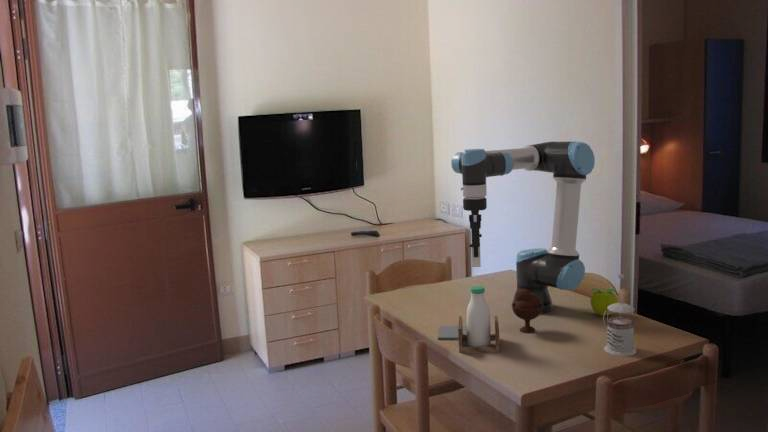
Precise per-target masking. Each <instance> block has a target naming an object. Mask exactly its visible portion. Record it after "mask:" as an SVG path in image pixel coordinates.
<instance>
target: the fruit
mask: <svg viewBox="0 0 768 432" xmlns="http://www.w3.org/2000/svg"><path fill="white" fill-rule="evenodd" d="M590 291H594V292H593V294H592V295H591V298H590V307H591V308H592V310H593V311H594V313H596V315H598V316H600V317H601V316H602V317H603V315H604V313H605V311H606V310H608V309H607V307H608V306H609V305H611V304H615V303H618V298H617V297H616V295H615V294H614V293H613V292H616V289H612V288H608V289H606V290H605V288H603V289H602V290H600V289H598V288H591V289H590ZM608 312H609V310H608V311H606V313H605V315H604V317H607V314H608ZM610 313H613V312H611V311H610ZM610 313H609V314H608V316H611V314H610ZM613 314H614V313H613Z"/></svg>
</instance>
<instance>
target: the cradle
mask: <svg viewBox="0 0 768 432" xmlns="http://www.w3.org/2000/svg"><path fill="white" fill-rule="evenodd" d="M457 326H458V336H459V340H458V353H486V354H487V353H489V352H490V353H493V352H494V353H495V352H500V327H499V317H498V315H494V333H490V337H491V340H494V343H495V346H489V347H469V346H463V343H464V342H463V341H464V340H463V337H467V334H463V329H462V326H463V315H458V324H457ZM495 354H496V353H495Z"/></svg>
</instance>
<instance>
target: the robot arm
mask: <svg viewBox="0 0 768 432" xmlns="http://www.w3.org/2000/svg"><path fill="white" fill-rule="evenodd" d="M595 160H596V159H595V154H594V151H593V150H592V148H591V146H590V145H589V144H588V143H586V142H583V141H547V142H546V141H544V142H541V143H535V144H527V145H524V146H523V147H521V148H510V149H508V148H507V149H496V150H495V149H493V150H485V149H483V148H468V149H464V150H462V152H456V153H455V154H454V155H452V157H451V163H450V164H451V168H452V170H453V171H454V172H455V173H456V174H461V176H462V187H460V190H461V191H462V197H463V199H462V208H463V210H464V211H467V212H469V211H470V212H471V214H468V221H469V229H470V230H471V244H469V248H471V268H481V267H482V266H481V264H482V263H481V238H482V237H483V236H482V233H481V231H480V229H481V228H482V227H481V226H482V214H481V213H480V211H485V210H487V207H488V206H487V205H488V203H487V198H486V197H487V195H488V194H487V178H490V177H498V176H500V177H503V176H505V175H508V174H510V173H511V172H512V171H513V170H514V171H515V170H521V169H522V170H525V171H527V172H528V171H529V172H530V171H531V172H533V171H536V172H537V171H538V172H545V173H550V174H552V179H554V181H555V182H556V190H555V200H554V201H555V202H554V210H553V211H554V212H553V213H554V214H553V225H552V234H551V235H552V236H551V238H552V239H551V247H550V248H549V249H546V248H528V249H524V250H519V252H517V254H516V261H515V265H516V290H515V293H516V292H517V291H518V290H520V289H525V290H528V291H529V292H531V293H534V294H536V295H537V296H538V298H539V300H540V303H542V304H543V310H542V312H541V314H542V313H547V312H550V311H551V310H553V300H552V297H551V295H550V291H549V288H548V287H551V288H555V289H558V290H561V291H563V290H564V291H573V290H575V289H577V288H578V287H579V286H580V285H581V283H582V282H583V280H584V277H585V273H586V267H585V265H584V262H583V261H581V260H580V253H579V252H578V251H577V248H576V246H577V235H578V226H579V225H578V223H579V216H580V215H579V214H580V212H579V211H580V201H581V189H582V184H583V183H584V182H586V180H587V176H588V175H590V174H591V173H592V172H593V170H594V169H595V163H596V161H595ZM514 302H516V300H515V295H514V297H513V300H512V303H514Z"/></svg>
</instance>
